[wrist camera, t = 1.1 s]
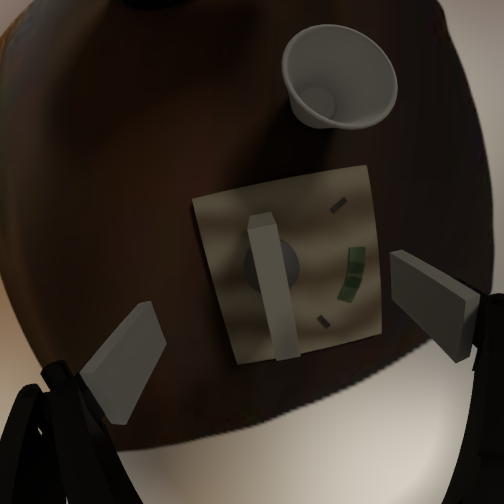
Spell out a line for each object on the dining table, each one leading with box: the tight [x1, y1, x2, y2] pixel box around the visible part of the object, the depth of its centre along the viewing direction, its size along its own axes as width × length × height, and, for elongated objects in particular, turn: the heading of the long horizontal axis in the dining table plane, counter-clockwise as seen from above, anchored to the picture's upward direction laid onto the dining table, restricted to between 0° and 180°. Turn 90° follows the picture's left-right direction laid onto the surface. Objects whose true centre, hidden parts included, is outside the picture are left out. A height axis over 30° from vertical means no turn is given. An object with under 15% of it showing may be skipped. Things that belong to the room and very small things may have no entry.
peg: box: [244, 212, 301, 361], centre depth 28 cm, size 15×6×10 cm, turn 12°
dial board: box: [192, 165, 382, 365], centre depth 33 cm, size 22×20×1 cm
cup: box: [282, 25, 398, 130], centre depth 23 cm, size 10×10×11 cm
